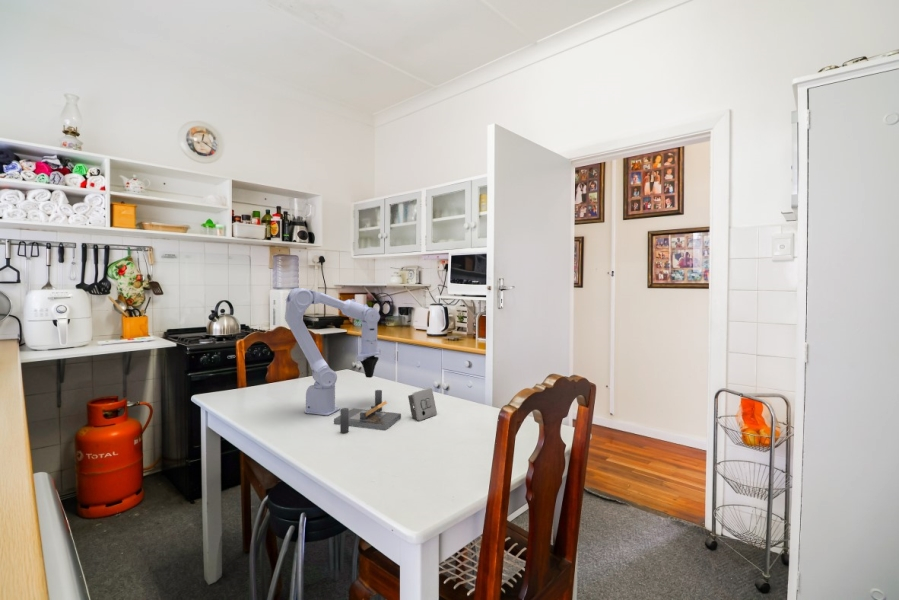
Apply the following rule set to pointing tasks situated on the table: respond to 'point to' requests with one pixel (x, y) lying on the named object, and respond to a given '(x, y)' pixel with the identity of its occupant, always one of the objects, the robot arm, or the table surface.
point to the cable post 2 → (378, 398)
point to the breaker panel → (371, 419)
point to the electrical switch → (422, 404)
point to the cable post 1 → (344, 420)
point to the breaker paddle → (375, 409)
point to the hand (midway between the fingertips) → (369, 377)
